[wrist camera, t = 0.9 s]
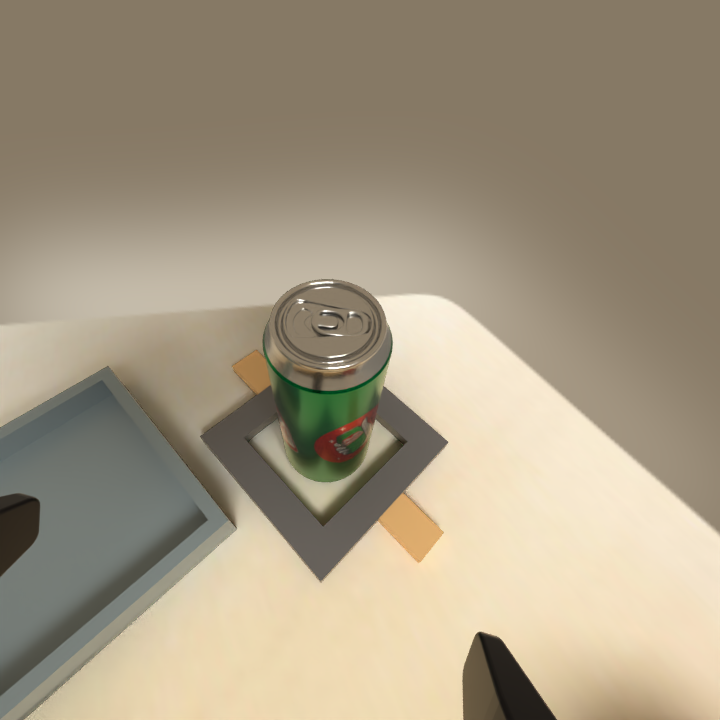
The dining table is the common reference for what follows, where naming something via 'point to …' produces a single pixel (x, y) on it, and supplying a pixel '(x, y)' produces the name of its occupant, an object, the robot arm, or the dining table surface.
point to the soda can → (327, 374)
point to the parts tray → (92, 533)
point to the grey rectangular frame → (362, 511)
